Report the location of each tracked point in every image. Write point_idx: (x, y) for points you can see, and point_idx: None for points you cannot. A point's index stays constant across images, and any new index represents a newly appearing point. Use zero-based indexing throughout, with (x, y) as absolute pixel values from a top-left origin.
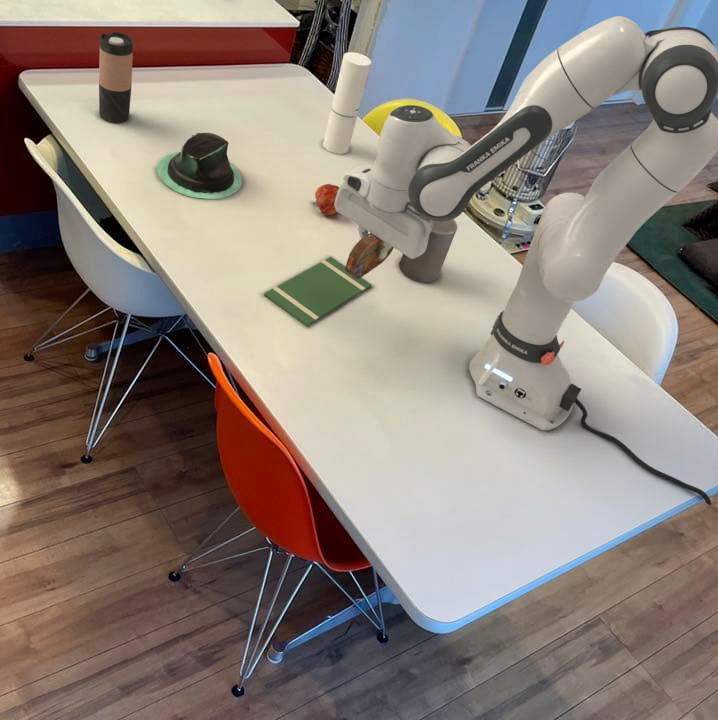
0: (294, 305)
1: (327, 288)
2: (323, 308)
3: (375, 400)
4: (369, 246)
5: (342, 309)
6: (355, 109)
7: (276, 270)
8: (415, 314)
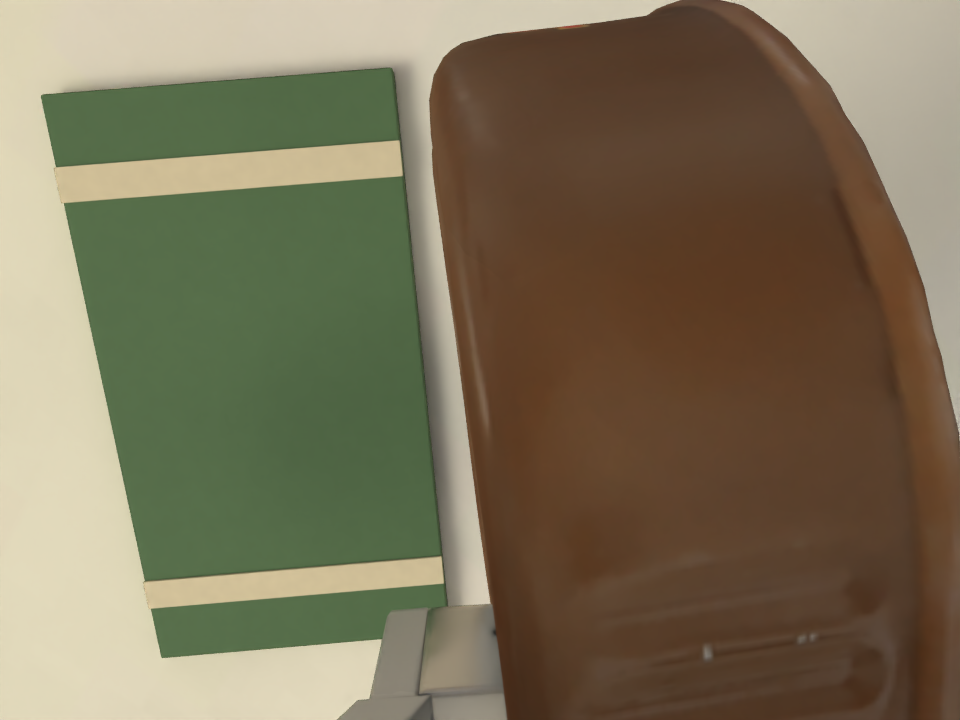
0: (308, 596)
1: (285, 352)
2: (401, 487)
3: None
4: None
5: (450, 385)
6: None
7: (24, 471)
8: None
